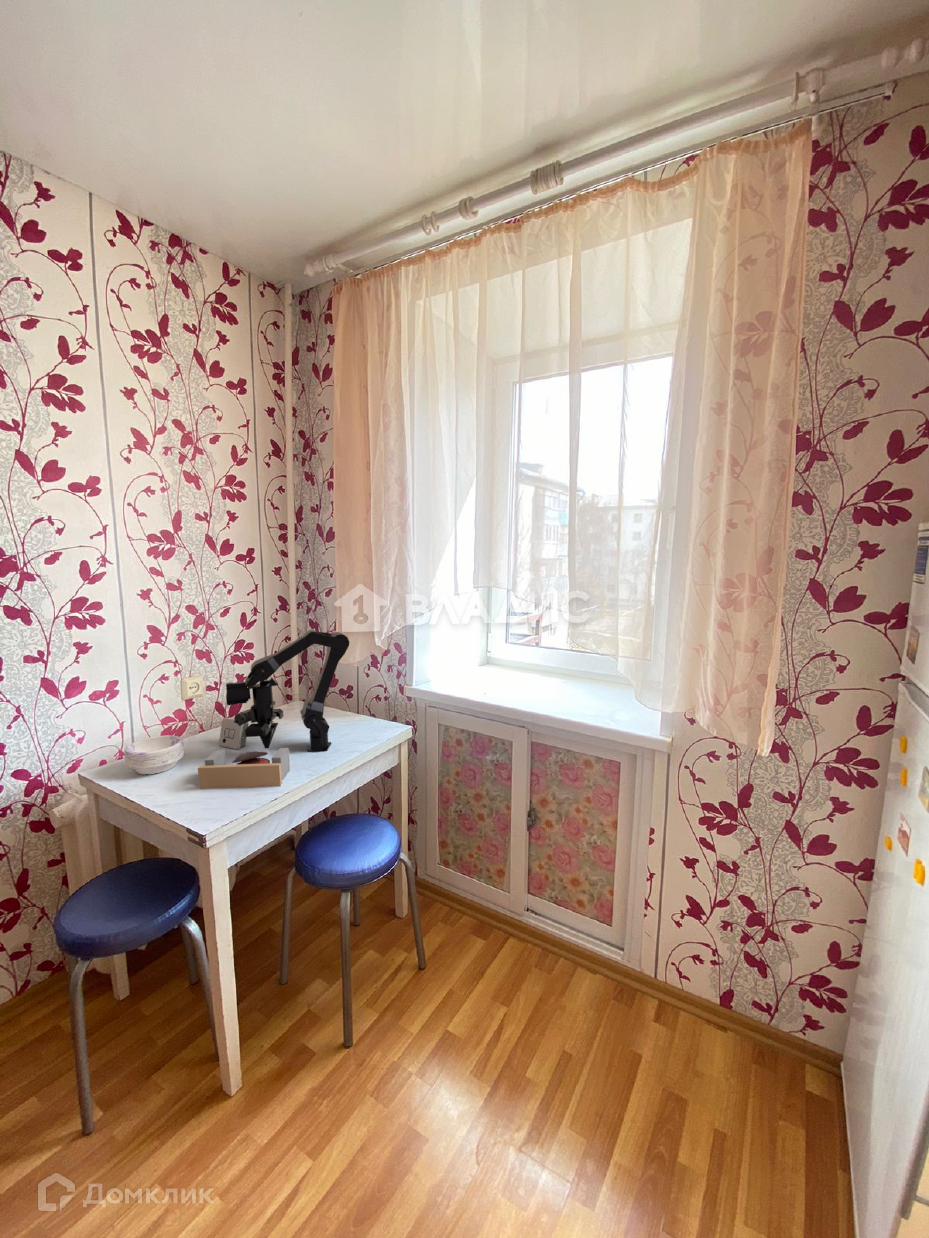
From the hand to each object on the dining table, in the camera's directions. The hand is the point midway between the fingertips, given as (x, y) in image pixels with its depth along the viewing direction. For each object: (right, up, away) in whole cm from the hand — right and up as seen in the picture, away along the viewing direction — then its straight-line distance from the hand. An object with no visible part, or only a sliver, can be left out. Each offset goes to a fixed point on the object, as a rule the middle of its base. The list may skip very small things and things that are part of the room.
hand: (267, 748), depth 156 cm
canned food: (0, -5, -12) cm, 13 cm away
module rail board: (0, -5, -14) cm, 15 cm away
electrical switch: (-16, -2, +11) cm, 19 cm away
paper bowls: (-31, -5, -7) cm, 32 cm away
